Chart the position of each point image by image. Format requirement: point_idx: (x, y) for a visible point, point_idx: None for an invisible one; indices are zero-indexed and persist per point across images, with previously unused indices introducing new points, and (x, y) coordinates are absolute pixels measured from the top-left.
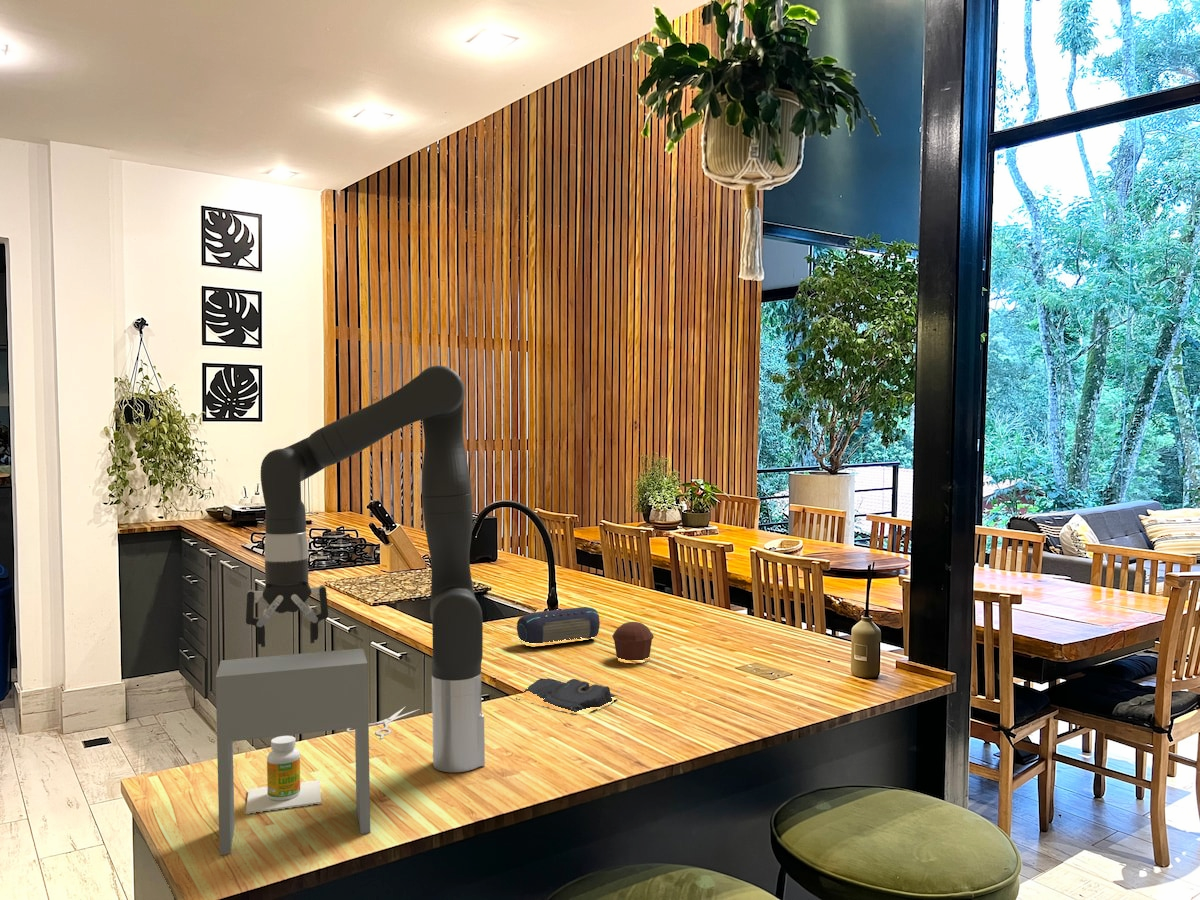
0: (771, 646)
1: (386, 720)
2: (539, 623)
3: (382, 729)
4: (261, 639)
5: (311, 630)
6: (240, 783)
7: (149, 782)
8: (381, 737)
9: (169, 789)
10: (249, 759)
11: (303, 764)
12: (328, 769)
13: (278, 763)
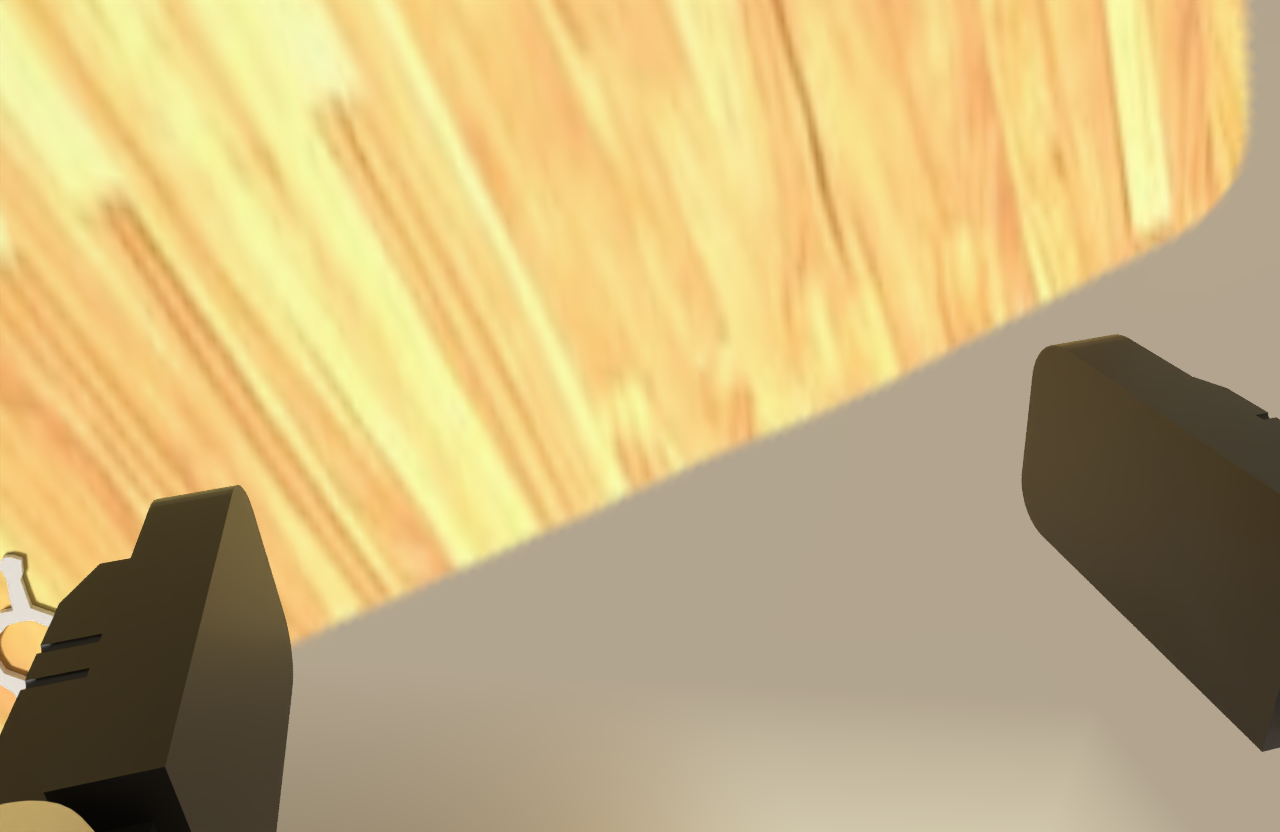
0: None
1: None
2: None
3: None
4: (1192, 386)
5: (162, 642)
6: (746, 2)
7: (1170, 140)
8: (14, 568)
9: (1088, 12)
10: (730, 361)
11: (425, 230)
12: (247, 110)
13: None
